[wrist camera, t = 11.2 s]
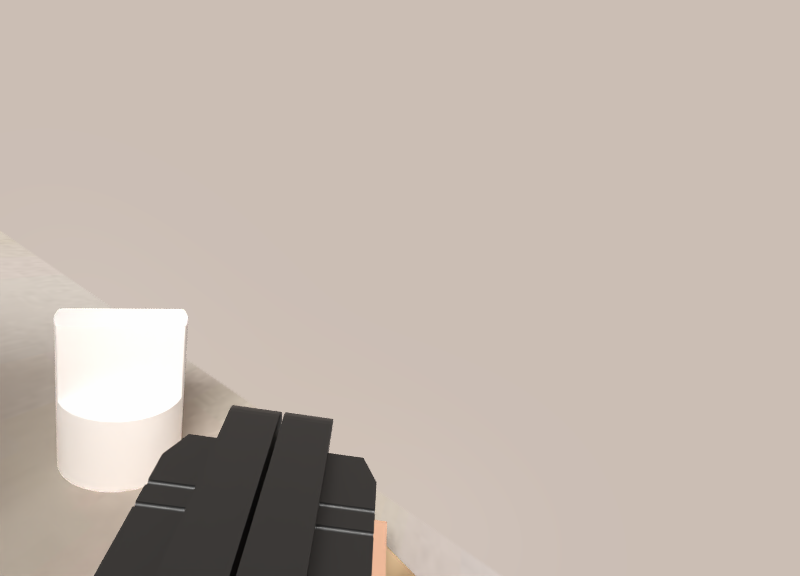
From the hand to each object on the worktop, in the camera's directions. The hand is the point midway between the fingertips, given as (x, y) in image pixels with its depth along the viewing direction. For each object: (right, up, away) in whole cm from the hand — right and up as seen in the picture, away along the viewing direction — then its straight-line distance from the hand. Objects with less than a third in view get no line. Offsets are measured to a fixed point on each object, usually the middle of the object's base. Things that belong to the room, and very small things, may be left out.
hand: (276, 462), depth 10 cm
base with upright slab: (-20, -11, +43) cm, 48 cm away
